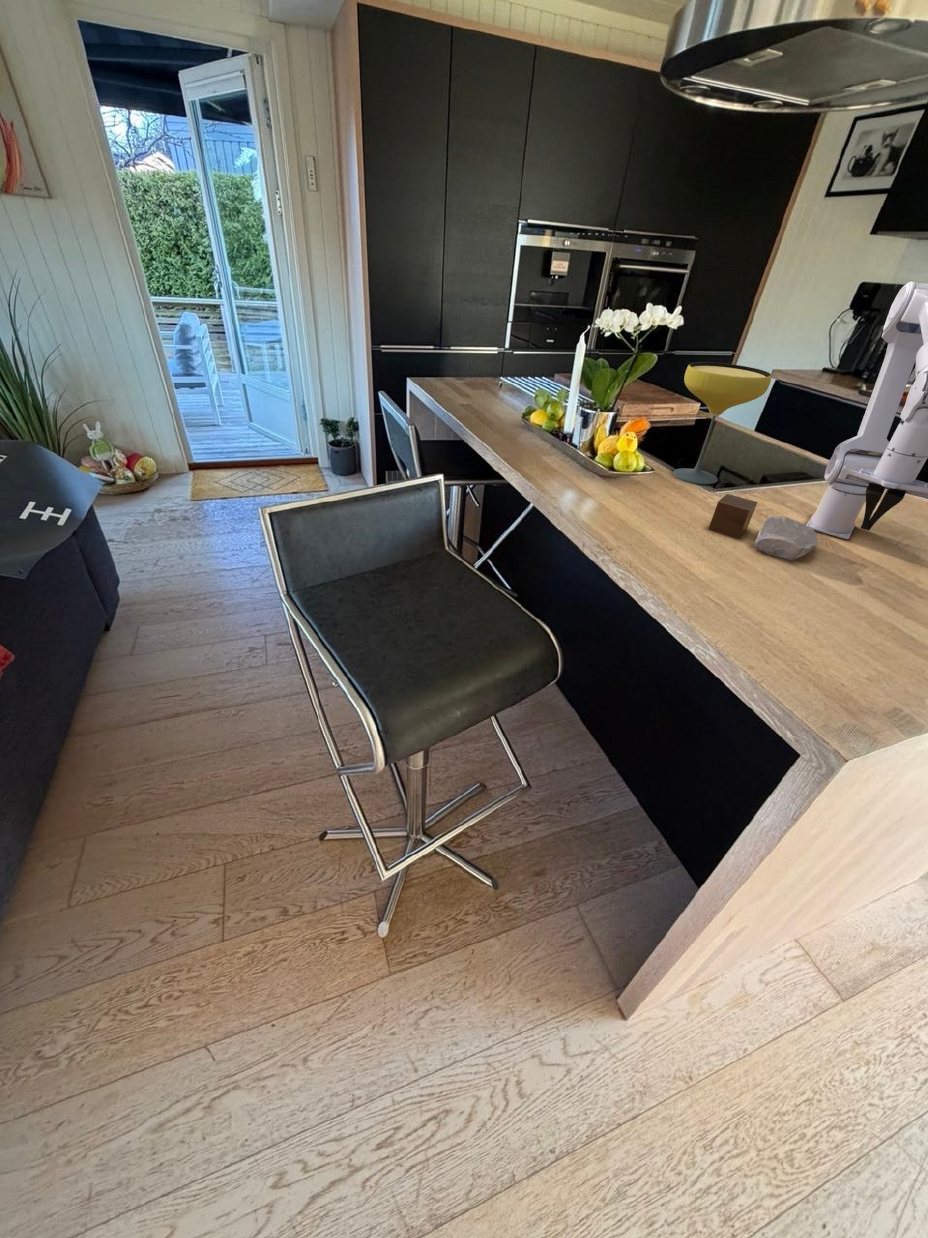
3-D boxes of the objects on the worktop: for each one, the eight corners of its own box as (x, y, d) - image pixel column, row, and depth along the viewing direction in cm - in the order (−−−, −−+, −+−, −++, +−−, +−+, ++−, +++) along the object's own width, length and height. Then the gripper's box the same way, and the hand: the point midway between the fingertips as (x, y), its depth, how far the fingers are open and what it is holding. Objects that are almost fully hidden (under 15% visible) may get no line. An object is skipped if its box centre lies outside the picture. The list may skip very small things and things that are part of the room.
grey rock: (807, 551, 105) (759, 527, 108) (823, 531, 101) (773, 507, 105) (798, 575, 97) (746, 549, 100) (815, 555, 94) (761, 529, 97)
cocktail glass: (737, 474, 136) (775, 369, 121) (727, 496, 123) (769, 381, 108) (667, 459, 142) (695, 359, 128) (650, 478, 130) (680, 368, 115)
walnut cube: (717, 520, 110) (727, 493, 107) (746, 529, 108) (757, 502, 104) (708, 529, 107) (718, 501, 103) (738, 538, 104) (749, 510, 100)
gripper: (852, 445, 86) (816, 521, 94) (962, 468, 79) (912, 549, 87) (858, 437, 90) (823, 510, 98) (963, 458, 83) (915, 535, 91)
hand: (865, 527), depth 93 cm, fingers closed
